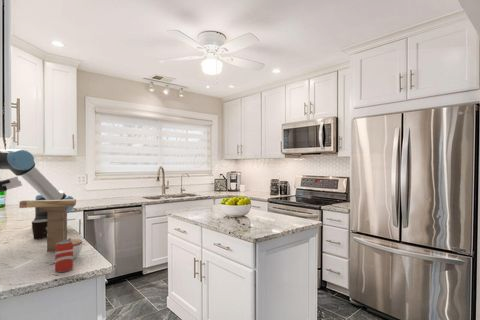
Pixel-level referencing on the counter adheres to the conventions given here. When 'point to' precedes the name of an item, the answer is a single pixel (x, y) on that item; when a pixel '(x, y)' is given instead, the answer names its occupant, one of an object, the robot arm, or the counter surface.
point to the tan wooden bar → (47, 203)
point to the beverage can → (64, 256)
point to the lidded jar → (76, 246)
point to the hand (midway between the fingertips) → (20, 181)
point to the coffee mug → (39, 228)
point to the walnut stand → (55, 225)
